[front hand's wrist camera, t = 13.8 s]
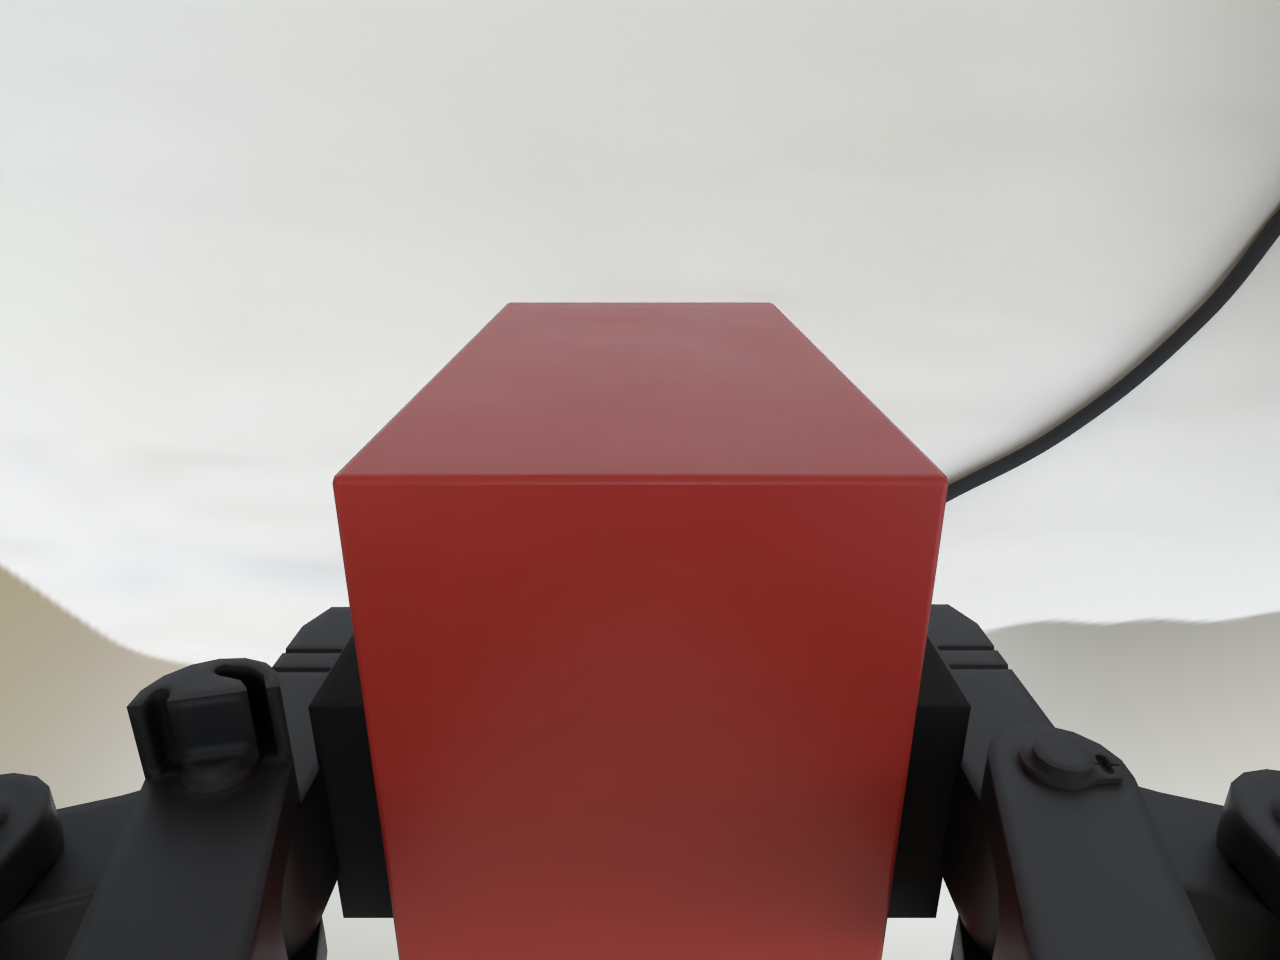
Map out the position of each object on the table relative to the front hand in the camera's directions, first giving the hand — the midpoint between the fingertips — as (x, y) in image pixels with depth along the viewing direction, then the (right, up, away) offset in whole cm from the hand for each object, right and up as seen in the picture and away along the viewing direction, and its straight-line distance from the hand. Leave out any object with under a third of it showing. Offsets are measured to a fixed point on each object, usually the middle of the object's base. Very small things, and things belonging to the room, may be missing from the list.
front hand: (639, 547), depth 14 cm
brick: (0, +1, +2) cm, 2 cm away
